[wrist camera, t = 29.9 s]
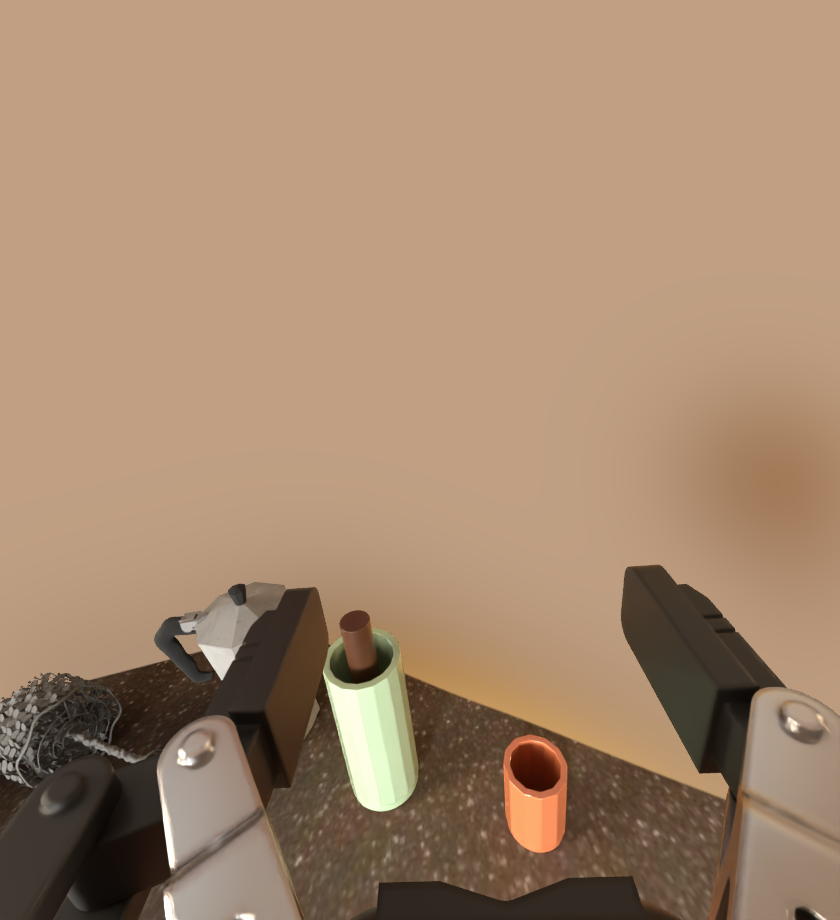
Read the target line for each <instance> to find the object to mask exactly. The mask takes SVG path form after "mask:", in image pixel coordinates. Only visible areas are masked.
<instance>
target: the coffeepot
mask: <svg viewBox="0 0 840 920" xmlns="http://www.w3.org/2000/svg"><path fill="white" fill-rule="evenodd" d="M285 591H286V588H285V586H284V585H278V584H268V583H258V582H254V583H251V584H249V585H246V586H245V584H237V585H234V586H232V587H231V588H230V589H229V590H228V593H225V594H223V595H220V596H219V597H218V598H217V599H216V600H215V601H214V602H213V603H212V604H211V605H210V606H209V607H208V608H207V609H206V610H205V611H204V612H202V611H198V612H192V613H187V614H185V615H184V616H181V617H170V618H168V619H166V620H165V621H164V622H163V624H162V625H161V627H160V629H159V630H158V632H157V633H156V635H155V638H154V641H155V644H156V645H157V647H158V648H159V649H160V650H161V651H162V652H164V653H165V654H166V655H167V656H168V657H169V658H170V659H171V660H172V661H173V662H174V663H175V664H176V665H177V667H178V668H179V669H181V670H182V671H183V672H184V673H185V674H186V675H187V676H188V677H189V678H190V679H191V680H192V681H193V682H195V683H197V682H204V681H208V680H211V679H213V677H214V671H210V672H208V671H201V670H199V668H198V667H197V664H196V662H195V660H194V659H193V657H192V656H190V655H189V654H187V653H186V652H185V650H184V648H183V647H182V645H181V644H180V642H179V641H178V640H177V639H176V638H175V637H174V636H175V635H188V634H196V636H197V644H198V645H199V646H200V648H201V649H202V651H203V653H204V654H205V656H206V657H207V659H208V660H209V662H210V663H211V665H212V666H213V668H214V669H215V671H216V672H217V674H218V676H219V677H220V679H221V680H223V678H224V676H225V674H226V672H227V670H228V669H229V667H230V665H231V663H232V661H233V660H235V655H236V653H237V651H238V650H239V648H240V646H242V642H243V640H244V638H245V636H246V634H247V632H248V631H249V629H250V627H251V625H252V624H253V623H254V622H255V621H256V620H257V619H258V618H259V617H260V616H261V615H262V614H263V613H264V612H265V611H266V610H276V609H277V607H278V605H279V602H280V600H281V598H282V596H283V594H284V592H285ZM319 710H320V707H319V705H318V703H317V700H316V698H315V701H314V705H313V709H312V712H311V716H310V719H309V723H308V726H307V730H306V734H305V737H304V739H305V738H306V736H307V734H308V733H309V731H310V730H311V728H312V726H313V724H314V722H315V719H316V716H317V714H318V712H319Z"/></svg>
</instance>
